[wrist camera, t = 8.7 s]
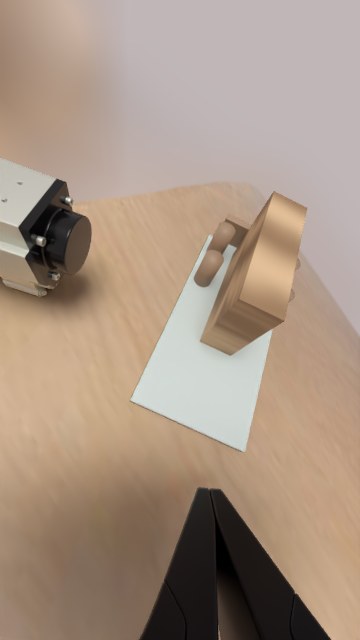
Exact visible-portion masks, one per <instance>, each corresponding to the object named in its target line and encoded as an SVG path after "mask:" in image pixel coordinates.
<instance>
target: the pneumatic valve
mask: <svg viewBox="0 0 360 640" xmlns="http://www.w3.org/2000/svg"><path fill="white" fill-rule="evenodd" d="M72 205H73V199H72V198H70V197H69V193H68V188H67V184H66V182H64V181H61V180H59V179H56V178H54V177H51V176H48V175H45V174H43V173H40V172H38V171H35V170H32V169H29V168H27V167H24V166H21V165H19V164H16V163H14V162H11V161H8V160H5V159H2V158H0V277H1V278H2V279H3V283H4V284H5V286H8V287H11V288H14V289H17V290H20V291H23V292H27V293H30V294H33V295H36V296H39V297H40V296H42V295H43V296H45V295H47V290H44V289H45V288H49V289H54V288H55V287H56V286H57V285H58V283H59V281H60V278H61V276H62V275H63V273H65V274H68V275H74V274H76V273H77V272H78V271H79V270H80V269H81V267H82V266H83V264H84V262H85V260H86V257H87V255H88V252H89V248H90V243H91V224H90V221H89V219H88V218H87V217H86V216H84V215H81V214H78V213H75V212H73V211H72V207H71V206H72Z"/></svg>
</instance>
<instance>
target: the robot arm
mask: <svg viewBox="0 0 360 640" xmlns="http://www.w3.org/2000/svg"><path fill="white" fill-rule="evenodd" d="M218 624H219V631H220V638H221V640H331V639H330V637H329V636H328V635H327V633H326V632H325V631H324V629H323V628H322V627H321V625H320V624H319V623H318V621H317V620H316V619H315V617H314V616H313V615H312V614H311V612H310V611H309V610H308V608H307V607H306V605H305V604H304V603H303V601H302V600H301V599H300V597H299V596H298V594H295V591H294V590H293V588H292V587H291V585H290V584H289V583H288V581H287V580H286V578H285V577H284V576H283V574H282V573H281V572H280V570H279V569H278V567H277V566H276V565H275V563H274V562H273V561H272V559H271V558H270V556H269V555H268V554H267V552H266V551H265V549H264V548H263V547H262V545H261V544H260V543H259V541H258V540H257V538H256V537H255V536H254V534H253V533H252V532H251V530H250V529H249V527H248V526H247V525H246V523H245V522H244V520H243V519H242V518H241V516H240V515H239V514H238V512H237V511H236V509H235V508H234V507H233V505H232V504H231V503H230V501H229V500H228V498H227V497H226V496H225V494H224V493H223V491H222V490H221V489H214V488H211V489H210V490H209V489H208V488H201V487H199V488H197V491H196V494H195V496H194V499H193V502H192V504H191V507H190V510H189V513H188V515H187V518H186V521H185V524H184V526H183V529H182V532H181V535H180V537H179V540H178V543H177V546H176V548H175V551H174V554H173V557H172V559H171V562H170V565H169V568H168V570H167V573H166V576H165V579H164V582H163V583H162V586H161V589H160V591H159V594H158V597H157V599H156V602H155V604H154V607H153V609H152V612H151V614H150V617H149V619H148V622H147V624H146V626H145V628H144V630H143V633H142V635H141V637H140V639H139V640H219V639H218Z"/></svg>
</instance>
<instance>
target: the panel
mask: <svg viewBox="0 0 360 640" xmlns="http://www.w3.org/2000/svg"><path fill="white" fill-rule="evenodd" d="M251 226H252V225H251V224H249V223H247V222H245V221H243V220H241V219H239V218H237V217H235V216H233V215H231V214H228V216H227V218H226V220H225V221H224V222H222V223H220V224H219V225H218V228H217V230H216V232H215V234H214V236H211V235H209V236H208V238H207V241H206V243H205V245H204V247H203V249H202V251H201V253H200V255H199V257H198V259H197V262H196V264H195V266H194V268H193V270H192V272H191V274H190V276H189V278H188V280H187V282H186V285H185V287H184V289H183V291H182V293H181V295H180V297H179V299H178V301H177V303H176V306H175V308H174V310H173V312H172V314H171V316H170V318H169V320H168V322H167V324H166V327H165V329H164V331H163V333H162V335H161V337H160V339H159V341H158V343H157V345H156V347H155V350H154V352H153V354H152V356H151V358H150V360H149V362H148V364H147V366H146V368H145V371H144V373H143V375H142V377H141V379H140V381H139V383H138V385H137V387H136V389H135V391H134V394H133V396H132V398H131V400H130V401H131V402H133V403H135V404H137V405H140V406H142V407H144V408H146V409H148V410H151V411H153V412H155V413H157V414H159V415H162V416H164V417H166V418H168V419H170V420H173V421H175V422H177V423H179V424H181V425H184V426H186V427H188V428H190V429H192V430H195V431H197V432H199V433H201V434H203V435H206V436H208V437H210V438H212V439H214V440H217V441H219V442H221V443H223V444H225V445H227V446H230V447H232V448H234V449H236V450H238V451H241V452H245V449H246V444H247V440H248V435H249V431H250V427H251V422H252V418H253V413H254V409H255V404H256V400H257V396H258V391H259V387H260V382H261V378H262V373H263V369H264V365H265V360H266V356H267V351H268V347H269V343H270V338H271V334H272V329H271V330H270V331H268V332H267V333H265V334H263V335H262V336H260V337H259V338H257V339H256V340H254V341H253V342H251V343H250V344H248V345H246V346H245V347H243V348H242V349H240V350H239V351H237V352H236V353H234V354H233V355H231V356H230V355H227V354H225V353H223V352H221V351H219V350H217V349H215V348H212V347H210V346H208V345H206V344H204V343H202V342H200V339H201V336H202V334H203V331H204V328H205V326H206V323H207V321H208V318H209V315H210V313H211V310H212V307H213V305H214V302H215V300H216V297H217V294H218V292H219V289H220V287H221V284H222V281H223V279H224V276H225V274H226V271H227V268H228V266H229V263H230V261H231V258H232V255H233V253H234V252H235V250H236V249H237V247H238V246H239V244H240V242H241V241H242V239H243V238H244V236H245V235H246V233H247V232H248V230H249V229H250V227H251ZM299 267H300V261H299V259H298V258H297V261H296V266H295V271H296V270H297V269H298V268H299ZM295 271H294V272H295ZM293 298H294V292H293V290H292V288H291V291H290V296H289V301H288V303H289V302H290V301H291V300H293Z"/></svg>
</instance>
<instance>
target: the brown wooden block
mask: <svg viewBox="0 0 360 640" xmlns="http://www.w3.org/2000/svg"><path fill="white" fill-rule="evenodd" d="M306 211H307V208H306V207H304V206H302V205H300V204H298V203H296V202H294V201H292V200H290V199H288V198H286V197H284V196H282V195H280V194H278V193H276V192H273V194H272V195H271V197H270V198H269V200H268V201H267V203H266V204H265V206H264V207H263V209H262V210H261V212H260V213H259V215H258V216H257V218H256V220H255V221H254V223H253V224H252V226H251V227H250V229H249V230H248V232H247V233H246V235H245V236H244V238H243V239H242V241H241V242H240V244H239V246H238V247H237V249H236V250H235V252H234V253H233V255H232V258H231V261H230V263H229V266H228V268H227V271H226V274H225V276H224V279H223V281H222V284H221V287H220V289H219V292H218V294H217V297H216V300H215V302H214V305H213V307H212V310H211V313H210V315H209V318H208V321H207V323H206V326H205V328H204V331H203V334H202V336H201V339H200V342H202V343H204V344H206V345H208V346H210V347H212V348H215V349H217V350H219V351H221V352H223V353H225V354H227V355H230V356H231V355H233V354H234V353H236V352H237V351H239V350H240V349H242V348H243V347H245V346H246V345H248V344H250V343H251V342H253V341H254V340H256V339H257V338H259V337H260V336H262V335H263V334H265V333H267V332H268V331H270V330H271V329H273V328H274V327H276V326H277V325H279V324H280V323H282V322H284V321H285V316H286V311H287V306H288V301H289V296H290V291H291V286H292V281H293V276H294V271H295V266H296V261H297V256H298V251H299V246H300V241H301V236H302V231H303V226H304V222H305V217H306Z"/></svg>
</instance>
